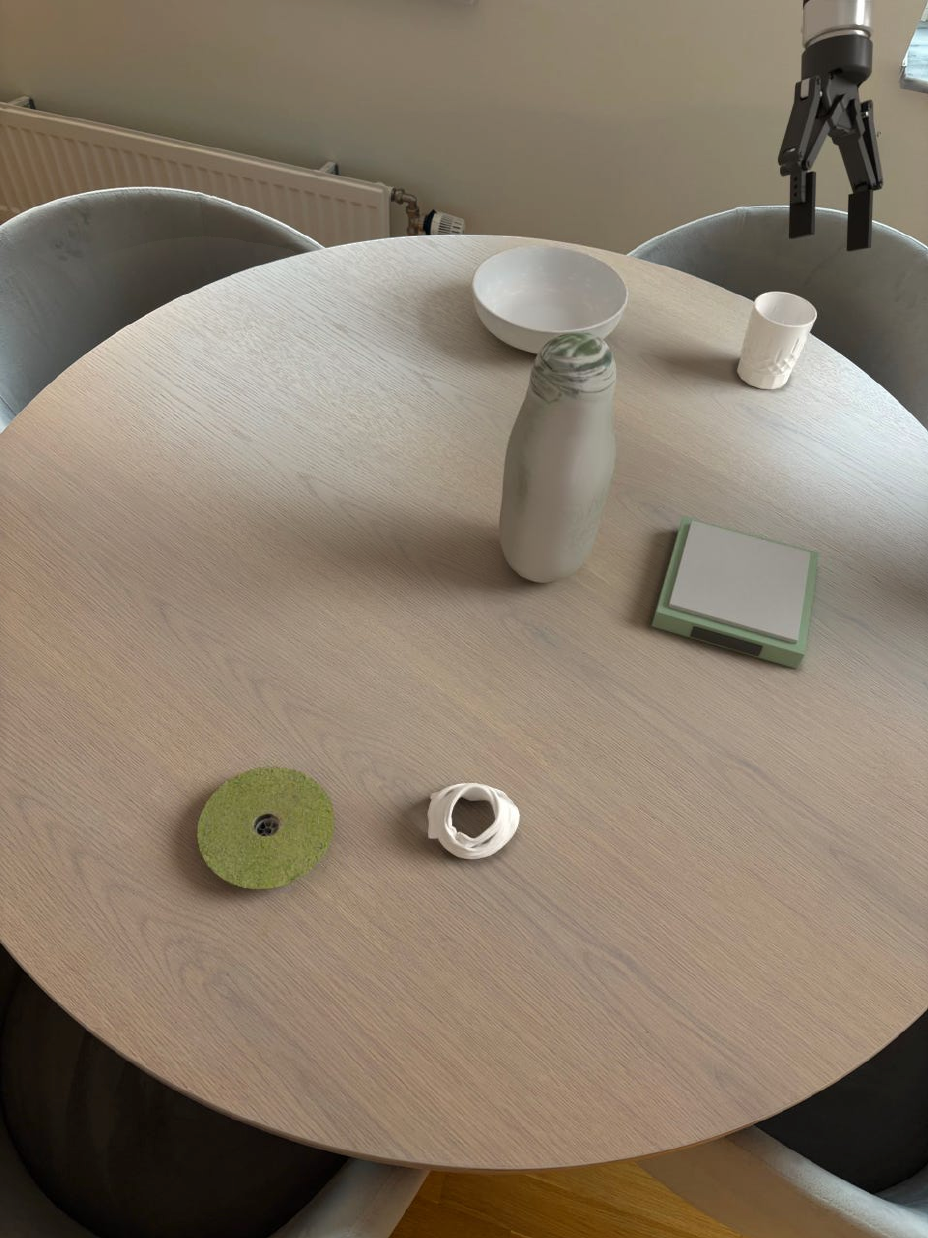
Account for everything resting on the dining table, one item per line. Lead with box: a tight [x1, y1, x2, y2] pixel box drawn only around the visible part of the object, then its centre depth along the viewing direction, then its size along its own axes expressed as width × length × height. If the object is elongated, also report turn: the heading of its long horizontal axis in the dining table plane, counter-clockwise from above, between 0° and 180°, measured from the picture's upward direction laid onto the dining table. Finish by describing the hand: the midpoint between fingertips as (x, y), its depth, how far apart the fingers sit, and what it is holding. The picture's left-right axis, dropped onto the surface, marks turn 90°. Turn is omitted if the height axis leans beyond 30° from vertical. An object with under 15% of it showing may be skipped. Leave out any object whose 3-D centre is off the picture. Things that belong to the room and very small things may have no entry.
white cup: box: [736, 291, 818, 390], centre depth 124 cm, size 8×8×10 cm
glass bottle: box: [498, 332, 617, 584], centre depth 92 cm, size 10×10×28 cm
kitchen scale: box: [651, 515, 820, 670], centre depth 100 cm, size 15×15×3 cm
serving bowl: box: [470, 244, 629, 354], centre depth 128 cm, size 21×21×7 cm
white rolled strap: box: [427, 782, 521, 860], centre depth 81 cm, size 8×7×5 cm
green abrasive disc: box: [196, 765, 335, 890], centre depth 80 cm, size 11×11×2 cm
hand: (831, 243), depth 111 cm, fingers open, 13 cm apart
